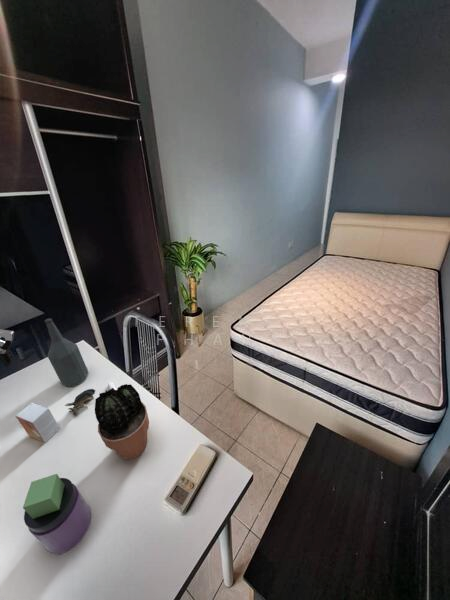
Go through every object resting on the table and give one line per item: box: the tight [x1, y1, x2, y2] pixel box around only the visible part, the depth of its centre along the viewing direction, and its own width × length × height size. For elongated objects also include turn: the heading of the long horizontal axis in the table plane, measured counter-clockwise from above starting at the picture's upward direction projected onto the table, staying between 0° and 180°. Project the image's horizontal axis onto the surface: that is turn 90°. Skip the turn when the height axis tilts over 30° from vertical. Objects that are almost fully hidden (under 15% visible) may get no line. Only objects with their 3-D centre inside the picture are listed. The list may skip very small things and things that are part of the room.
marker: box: [107, 381, 117, 390], centre depth 95 cm, size 18×2×2 cm, turn 42°
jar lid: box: [23, 477, 77, 533], centre depth 55 cm, size 10×9×2 cm
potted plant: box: [94, 383, 150, 460], centre depth 72 cm, size 14×14×25 cm
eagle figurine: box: [64, 388, 96, 416], centre depth 91 cm, size 8×7×9 cm
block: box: [22, 473, 65, 519], centre depth 54 cm, size 5×5×5 cm
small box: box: [15, 402, 61, 444], centre depth 81 cm, size 8×6×10 cm
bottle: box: [44, 317, 89, 388], centre depth 98 cm, size 10×10×30 cm
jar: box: [27, 482, 92, 555], centre depth 58 cm, size 10×10×12 cm
